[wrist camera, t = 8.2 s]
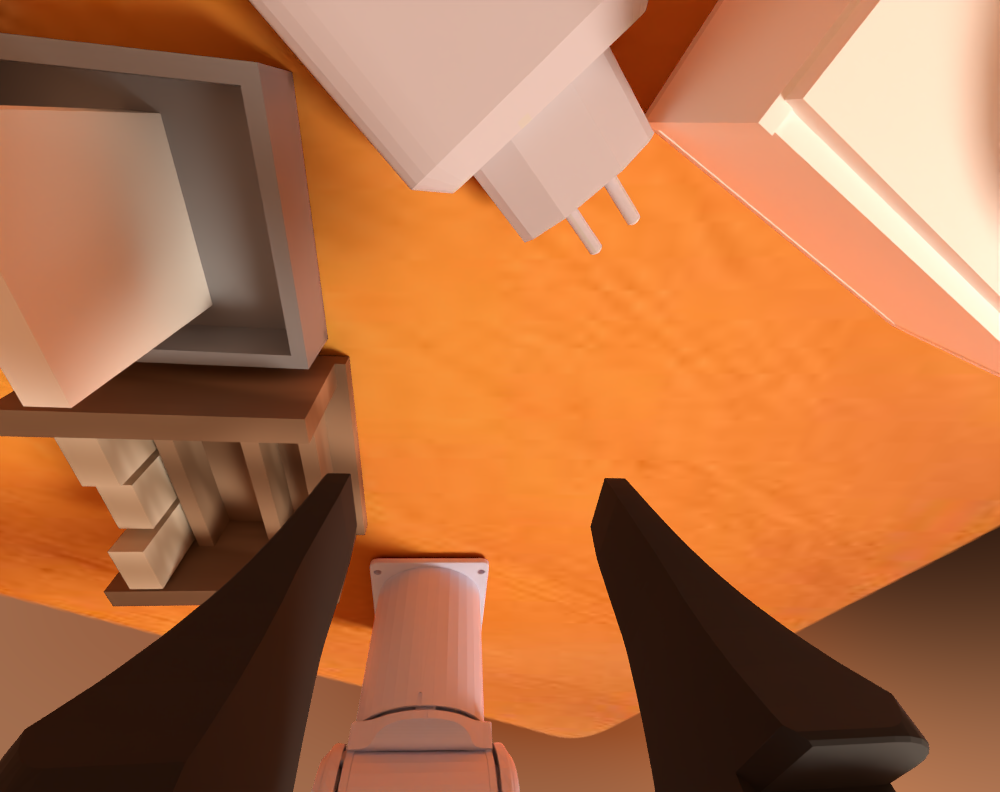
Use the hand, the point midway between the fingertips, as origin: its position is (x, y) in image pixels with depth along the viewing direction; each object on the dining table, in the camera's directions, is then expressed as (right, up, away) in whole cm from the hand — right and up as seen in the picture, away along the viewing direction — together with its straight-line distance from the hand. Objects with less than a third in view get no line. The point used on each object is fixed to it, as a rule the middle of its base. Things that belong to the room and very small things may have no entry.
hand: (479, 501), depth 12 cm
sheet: (-12, +10, +4) cm, 16 cm away
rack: (-13, 0, +11) cm, 17 cm away
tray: (-12, +10, +5) cm, 17 cm away
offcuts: (-17, 0, +10) cm, 20 cm away
